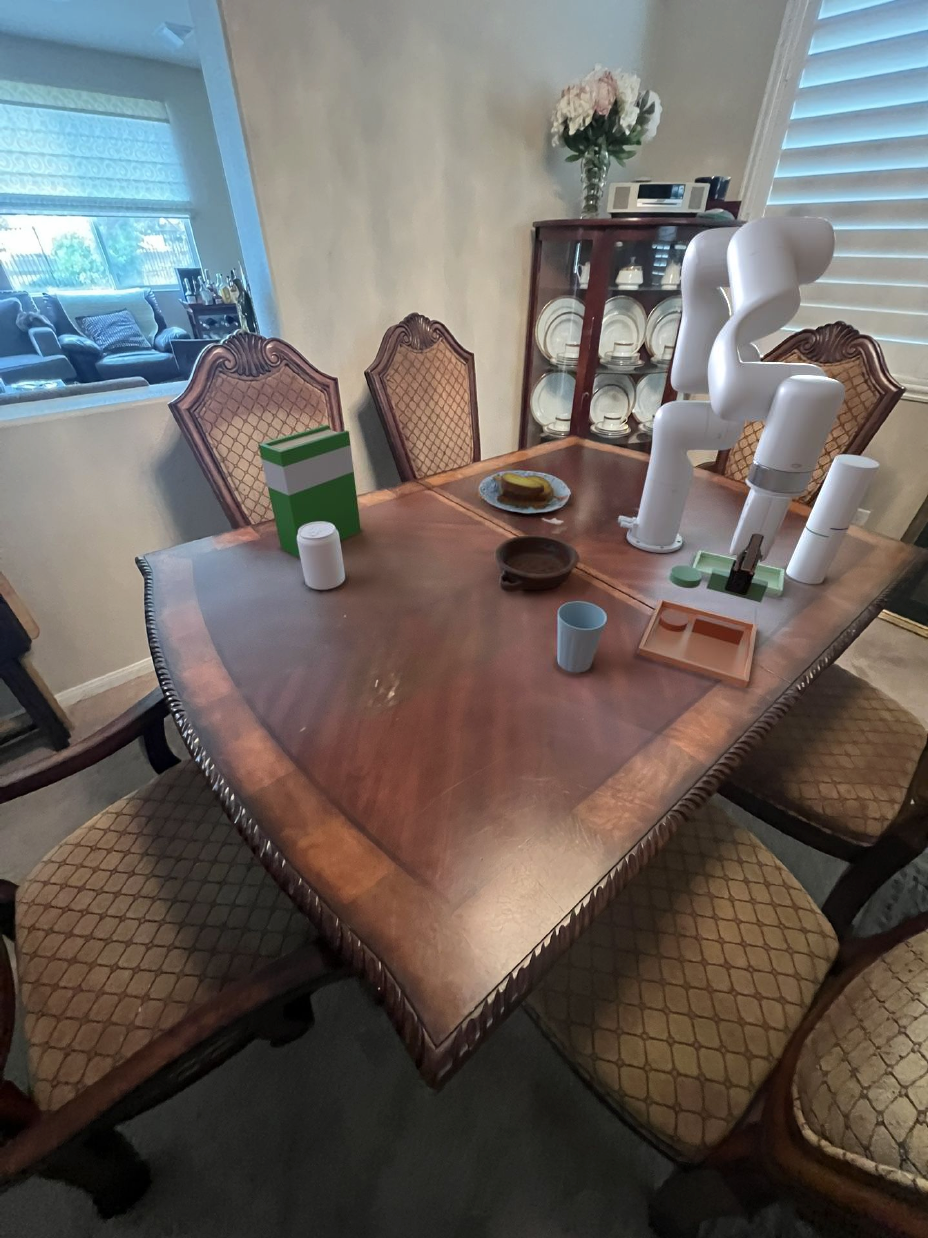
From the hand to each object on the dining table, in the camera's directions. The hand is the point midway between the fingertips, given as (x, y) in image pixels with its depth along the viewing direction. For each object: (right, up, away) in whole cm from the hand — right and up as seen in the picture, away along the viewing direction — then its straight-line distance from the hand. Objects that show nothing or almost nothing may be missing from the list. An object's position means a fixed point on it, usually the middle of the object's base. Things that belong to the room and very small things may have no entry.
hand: (736, 587), depth 83 cm
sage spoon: (-2, 0, +1) cm, 2 cm away
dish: (-28, +5, +30) cm, 41 cm away
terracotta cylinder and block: (+1, -7, +13) cm, 15 cm away
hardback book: (-76, +14, +42) cm, 88 cm away
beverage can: (-72, +3, +27) cm, 77 cm away
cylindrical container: (+30, +4, +31) cm, 43 cm away
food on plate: (-26, +28, +63) cm, 74 cm away
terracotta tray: (-1, -9, +11) cm, 15 cm away
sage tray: (+15, +4, +30) cm, 34 cm away
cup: (-24, -13, +7) cm, 28 cm away
